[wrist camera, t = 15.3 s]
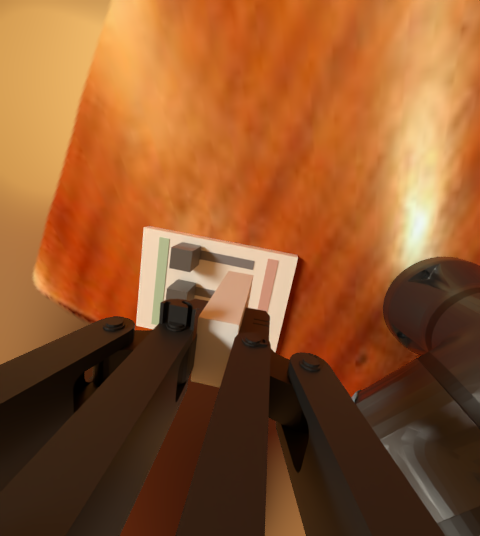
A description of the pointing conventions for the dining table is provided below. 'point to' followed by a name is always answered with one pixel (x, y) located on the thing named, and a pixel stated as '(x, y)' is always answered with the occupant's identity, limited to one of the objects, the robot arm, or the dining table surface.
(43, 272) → the dining table surface
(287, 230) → the dining table surface
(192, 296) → the handle middle
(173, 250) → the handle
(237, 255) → the panel
